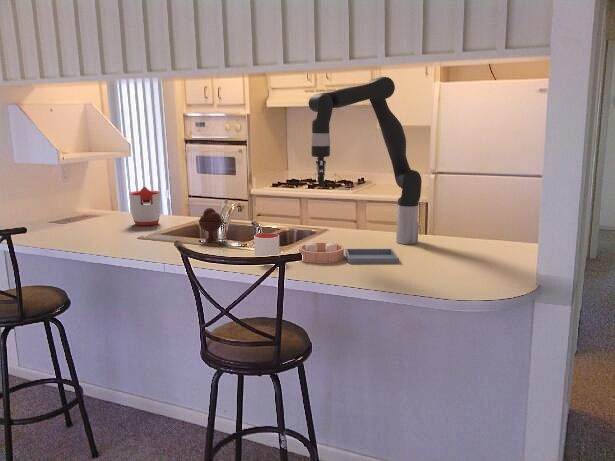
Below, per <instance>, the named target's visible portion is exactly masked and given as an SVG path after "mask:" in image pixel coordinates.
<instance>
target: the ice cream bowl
mask: <svg viewBox="0 0 615 461" xmlns="http://www.w3.org/2000/svg"><path fill="white" fill-rule="evenodd" d="M222 224H223V219H222V218H221V215H220V213H218V212H217V211H216V210H215V209H214V208H211V207H209V208H206V209H204V210H203V215H201V216H200V217H199V220H198V225H199V227H200V228H201V229H202V230H203V231H205V232H208V234H209V235H208V237H207V238H205V242H209V243H212V242H217V241H218V239H217V237H215V236H214V233H215V232H216V231H218V230H219V229H220V228H221V226H222Z"/></svg>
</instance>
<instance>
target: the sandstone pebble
mask: <svg viewBox="0 0 615 461" xmlns="http://www.w3.org/2000/svg"><path fill="white" fill-rule="evenodd" d="M337 244H338V243H334V242H327V244H326V247H325V252H333V251H337Z"/></svg>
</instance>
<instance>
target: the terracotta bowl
mask: <svg viewBox="0 0 615 461" xmlns="http://www.w3.org/2000/svg"><path fill="white" fill-rule="evenodd" d="M313 243H316V244H317V252H310V251H306V244H307V243H304V244H302V245H299V246H298V254H299V253H301V254H302V255H303V261H304V262H303V261H302V262H303V263H305V262H308V263H307V264H310V263H315V264H329V263H336V262H340V261H342V260H343V259H344V258H345V256H344V254H345V247H344V245H342V244H339V243H336V244H337V251H333V252H325V247H326V244H327V243H328V242H325V241H324V242H322V241H320V242H315V241H314V242H313Z"/></svg>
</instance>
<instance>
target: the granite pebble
mask: <svg viewBox="0 0 615 461" xmlns="http://www.w3.org/2000/svg"><path fill="white" fill-rule="evenodd" d="M305 244H306V251H310V252H317V244H316V243H314V242H308V243H305Z"/></svg>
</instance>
